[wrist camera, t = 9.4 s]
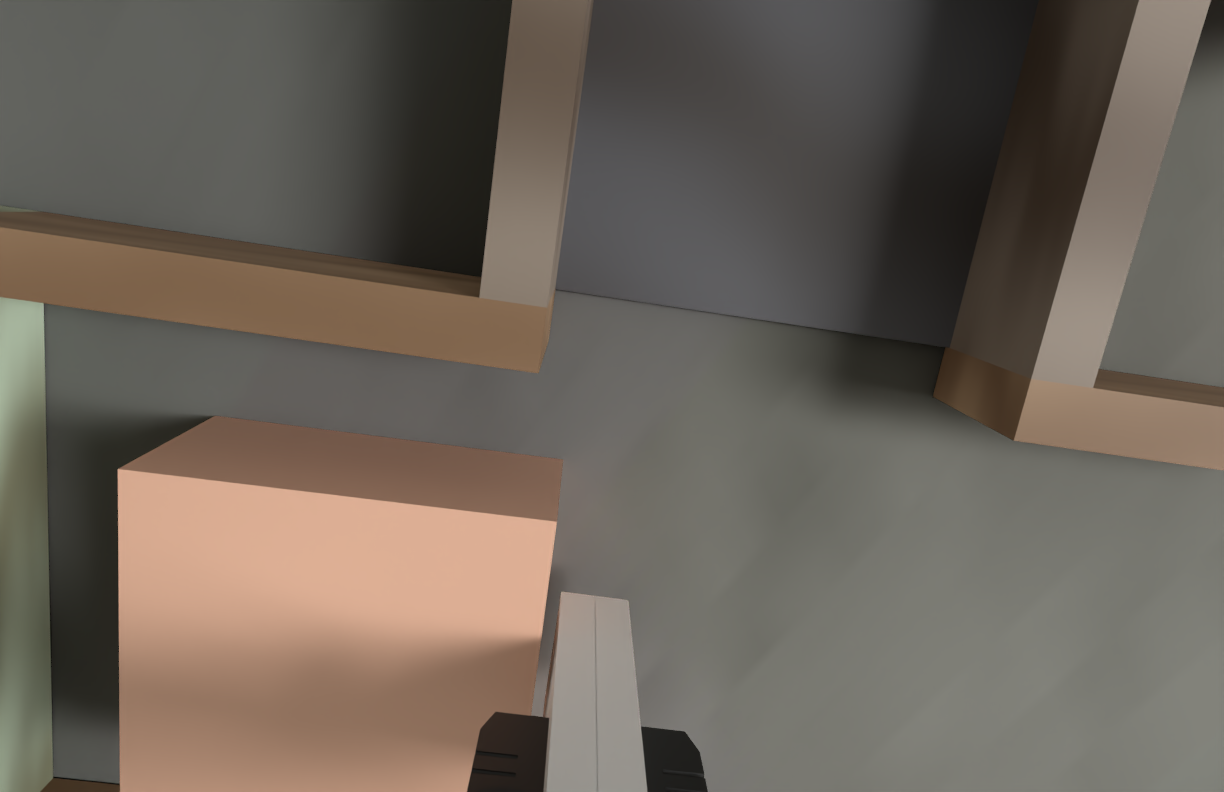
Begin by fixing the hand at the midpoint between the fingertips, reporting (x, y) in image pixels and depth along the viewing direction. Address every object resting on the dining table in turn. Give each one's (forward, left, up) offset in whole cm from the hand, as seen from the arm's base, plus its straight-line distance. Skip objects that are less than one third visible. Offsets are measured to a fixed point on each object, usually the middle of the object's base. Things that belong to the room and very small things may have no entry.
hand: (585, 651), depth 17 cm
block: (0, -5, -2) cm, 5 cm away
